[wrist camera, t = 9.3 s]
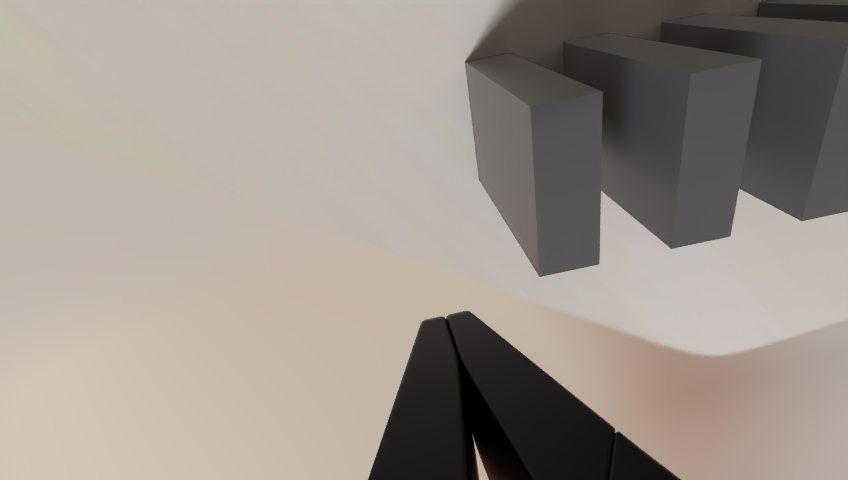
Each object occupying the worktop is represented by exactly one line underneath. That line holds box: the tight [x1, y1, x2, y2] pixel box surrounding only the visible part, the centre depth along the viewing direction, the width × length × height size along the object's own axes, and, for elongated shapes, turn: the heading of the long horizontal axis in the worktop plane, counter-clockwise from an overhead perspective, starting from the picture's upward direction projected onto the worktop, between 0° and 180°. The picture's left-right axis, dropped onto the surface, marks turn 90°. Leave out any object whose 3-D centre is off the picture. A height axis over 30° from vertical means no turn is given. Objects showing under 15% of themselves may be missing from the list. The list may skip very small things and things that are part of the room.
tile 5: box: [465, 53, 603, 277], centre depth 16 cm, size 2×5×8 cm, turn 10°
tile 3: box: [661, 14, 848, 221], centre depth 16 cm, size 2×5×8 cm, turn 9°
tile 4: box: [564, 33, 762, 249], centre depth 16 cm, size 2×5×8 cm, turn 9°
